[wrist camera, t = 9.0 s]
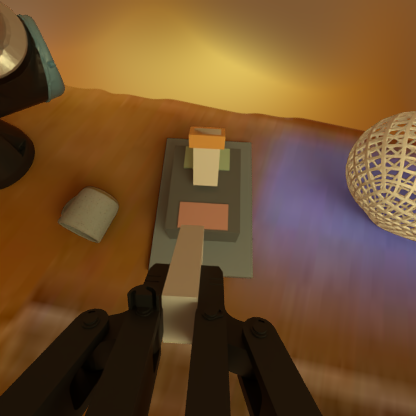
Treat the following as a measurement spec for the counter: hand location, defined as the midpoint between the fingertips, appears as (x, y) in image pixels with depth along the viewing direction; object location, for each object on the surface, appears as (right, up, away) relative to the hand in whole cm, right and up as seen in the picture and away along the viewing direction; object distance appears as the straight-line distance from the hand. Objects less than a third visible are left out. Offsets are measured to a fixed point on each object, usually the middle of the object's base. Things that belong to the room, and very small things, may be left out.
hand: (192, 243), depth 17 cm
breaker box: (+1, +3, +34) cm, 34 cm away
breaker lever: (+1, +6, +27) cm, 27 cm away
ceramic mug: (-21, 0, +32) cm, 39 cm away
